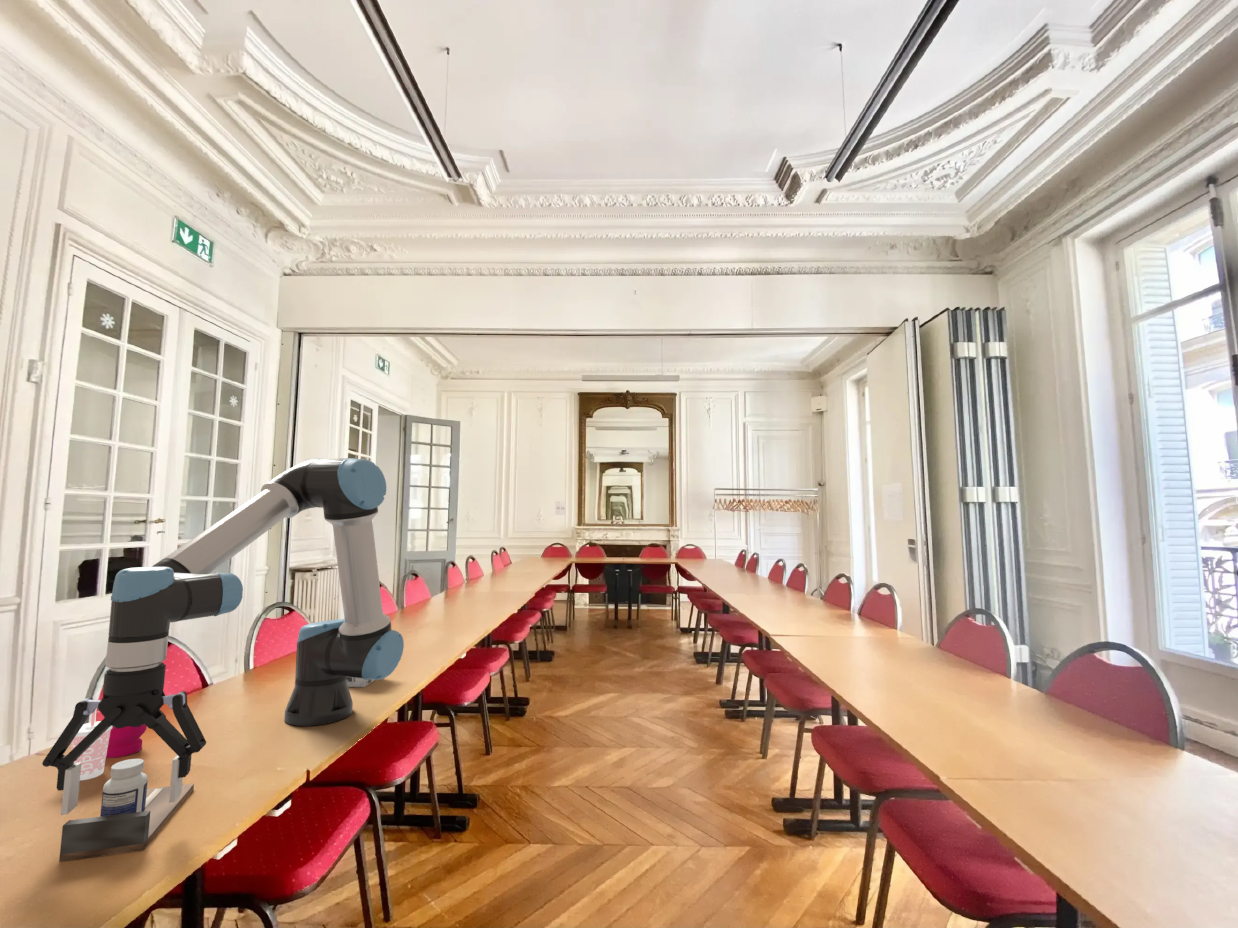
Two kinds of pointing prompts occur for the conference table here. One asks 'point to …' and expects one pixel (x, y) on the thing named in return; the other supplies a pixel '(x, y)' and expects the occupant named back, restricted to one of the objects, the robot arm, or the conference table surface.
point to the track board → (120, 828)
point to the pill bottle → (125, 789)
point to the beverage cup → (92, 750)
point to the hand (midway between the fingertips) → (123, 804)
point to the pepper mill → (125, 741)
